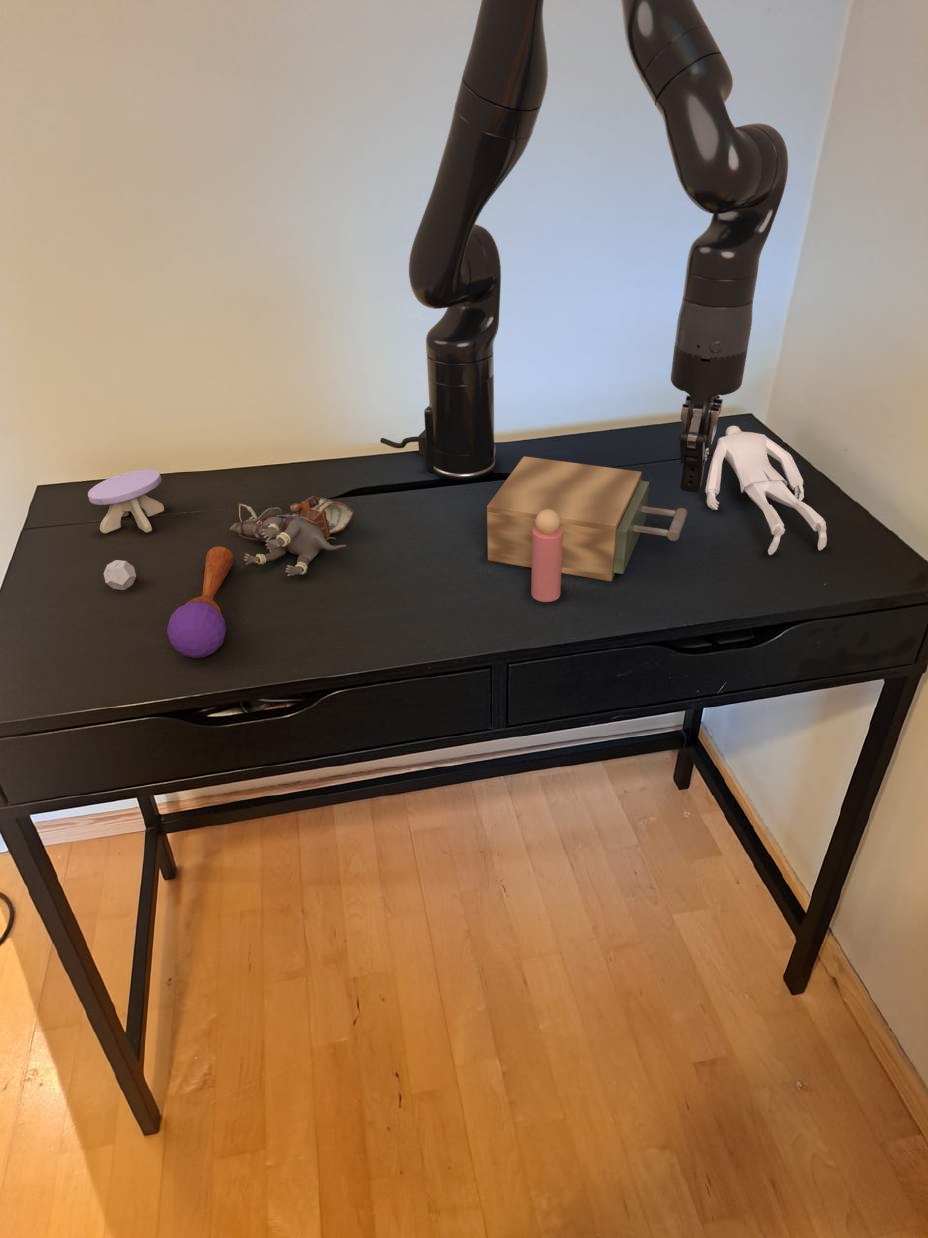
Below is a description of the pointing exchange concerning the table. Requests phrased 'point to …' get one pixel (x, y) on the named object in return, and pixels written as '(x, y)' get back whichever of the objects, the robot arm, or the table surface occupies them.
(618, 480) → the cabinet
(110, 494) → the toy table
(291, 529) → the figurine
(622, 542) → the drawer
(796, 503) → the male figurine
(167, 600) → the table surface
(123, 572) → the game die
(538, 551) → the pink game pawn
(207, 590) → the purple maraca
